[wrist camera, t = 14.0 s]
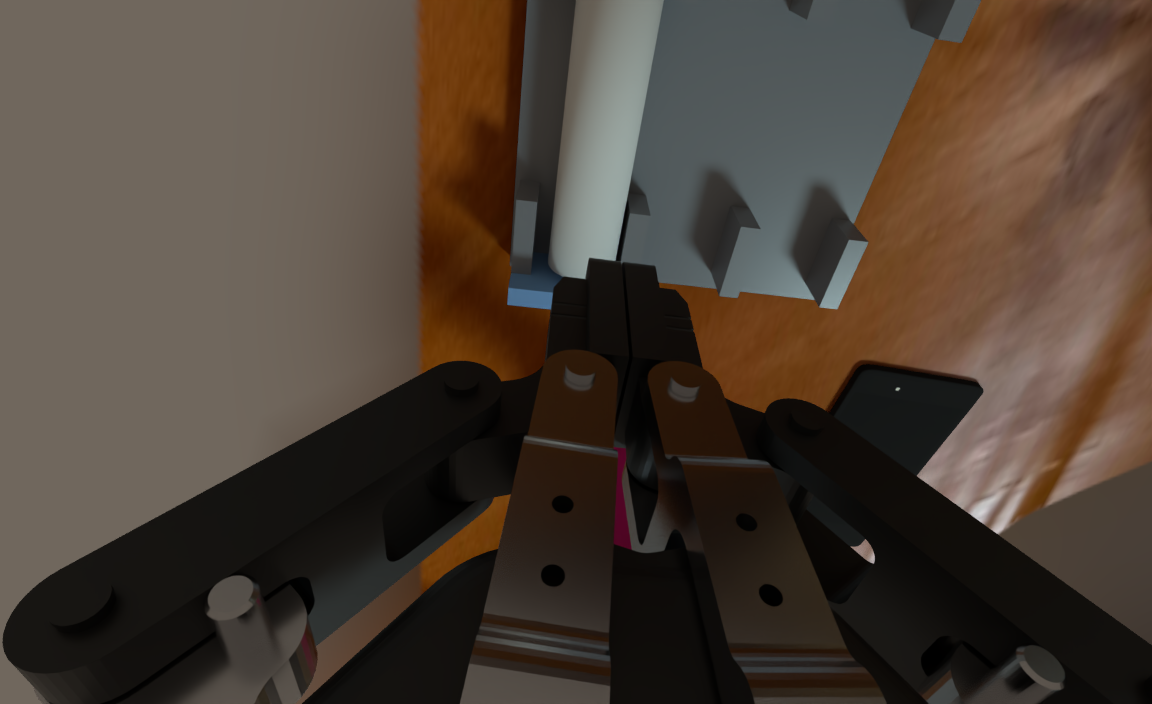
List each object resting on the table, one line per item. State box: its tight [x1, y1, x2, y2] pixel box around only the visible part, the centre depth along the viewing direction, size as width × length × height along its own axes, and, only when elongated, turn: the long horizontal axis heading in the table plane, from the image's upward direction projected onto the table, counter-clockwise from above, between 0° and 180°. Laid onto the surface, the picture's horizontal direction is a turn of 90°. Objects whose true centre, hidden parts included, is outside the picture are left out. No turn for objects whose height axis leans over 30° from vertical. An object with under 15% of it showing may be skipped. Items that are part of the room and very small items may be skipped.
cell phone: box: [806, 364, 983, 547], centre depth 45 cm, size 9×18×1 cm, turn 169°
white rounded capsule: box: [548, 0, 664, 279], centre depth 27 cm, size 16×4×4 cm, turn 173°
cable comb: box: [507, 0, 981, 309], centre depth 27 cm, size 19×18×5 cm
